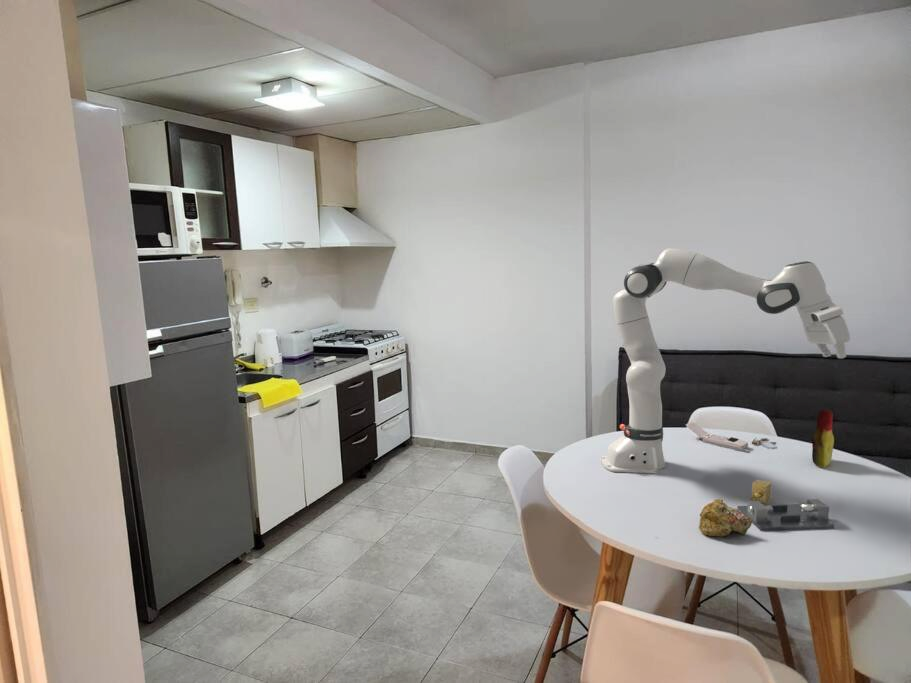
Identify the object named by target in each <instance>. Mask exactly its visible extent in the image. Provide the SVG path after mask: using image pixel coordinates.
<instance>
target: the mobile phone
mask: <svg viewBox="0 0 911 683" xmlns="http://www.w3.org/2000/svg"><path fill="white" fill-rule="evenodd" d="M685 427H687V428H688V429H689V430H691V431H692V432H693V433H695V434H696V435H697V436H698V437H700V438H701V439H702V442H703V443H705V444H710V445H713V446H717V447H722V448H724V449H725V448H726V449H730V450H733V449H734V450H735V451H741V452H746V453H750V452H749V451H750V450H749V449H747V448H748V447H749V442H748V441H745V440H743V439H740V438H737V437H732V436H731V437H729V436H723V435H717V434H712V433H708V432H707V431H705V430H704V429H703V428H702V427H701V426H699V425H698V424H697V423H695V422H694V421H691V422H688V423H686V424H685Z"/></svg>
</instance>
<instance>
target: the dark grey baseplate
mask: <svg viewBox="0 0 911 683" xmlns="http://www.w3.org/2000/svg"><path fill="white" fill-rule="evenodd" d="M736 509H737V510H738V511H739V512H740V513H742V514H744V515H746V516H747V517H749V518H750V519H751V520H752V525H754V526H755V528H757V529H758V530H759V531H760V532H761V531H786V530H788V531H789V530H790V531H791V530H816V529H834V528H835V524H834V523H832V522H831V521H830V520H829V517H830V516H829V514H830V506H829V505H827V504H826V503H824V502H823V501H821V500H820V499H819V498H807V499H806V503H787V504H786V503H784V504H779V503H778V504H763V503H760V502H759V501H753V500H751V501H749V500H748V501H747V505H737V508H736Z"/></svg>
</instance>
